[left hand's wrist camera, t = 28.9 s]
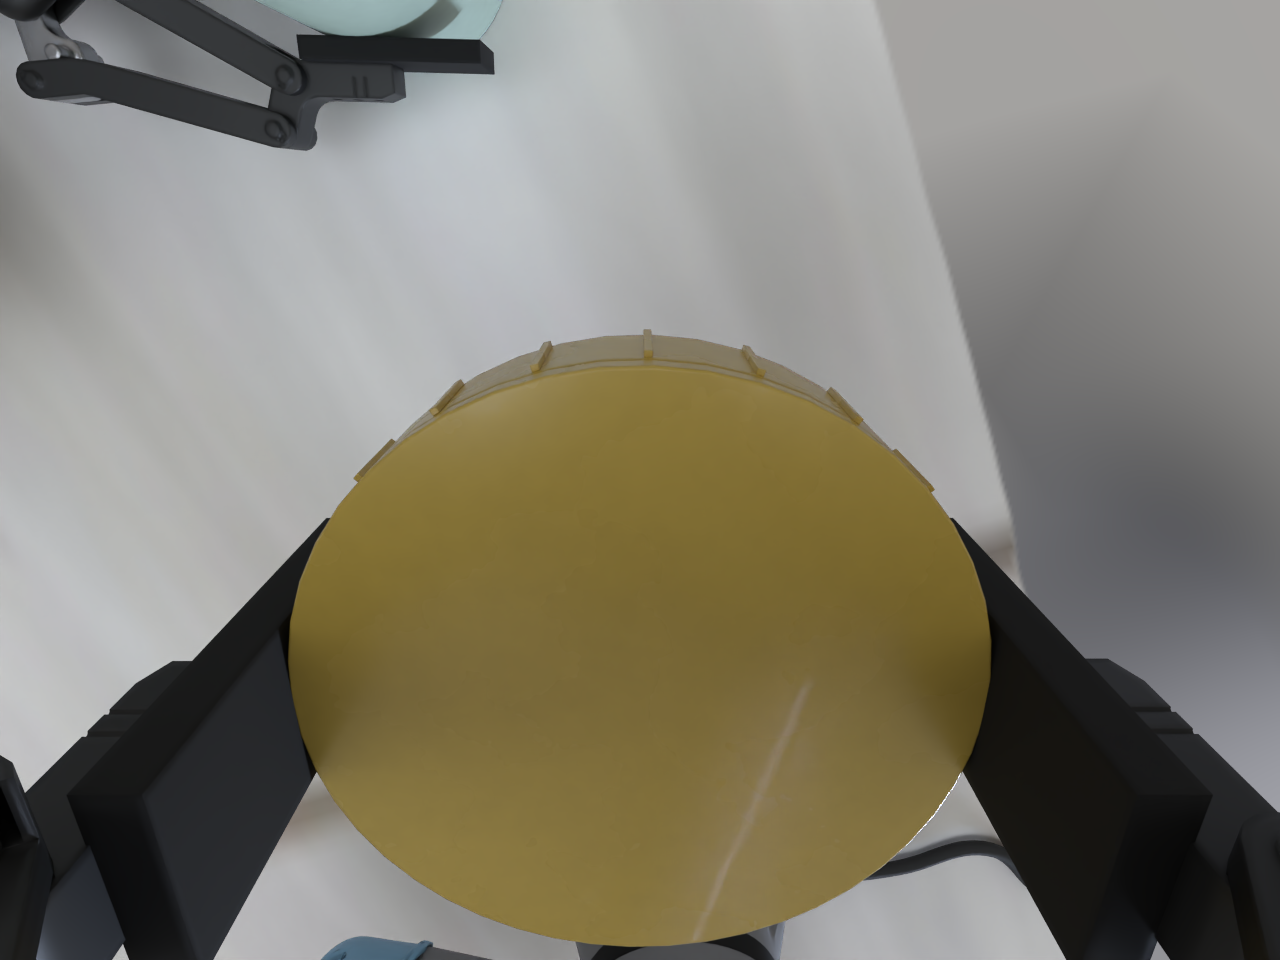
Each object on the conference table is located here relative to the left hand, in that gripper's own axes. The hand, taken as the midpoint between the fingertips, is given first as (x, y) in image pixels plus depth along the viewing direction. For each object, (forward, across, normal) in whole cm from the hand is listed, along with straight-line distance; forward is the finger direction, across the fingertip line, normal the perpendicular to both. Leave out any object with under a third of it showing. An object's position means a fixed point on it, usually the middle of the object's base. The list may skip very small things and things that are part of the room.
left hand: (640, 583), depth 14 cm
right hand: (+19, +6, -16) cm, 26 cm away
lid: (-3, 0, 0) cm, 3 cm away
